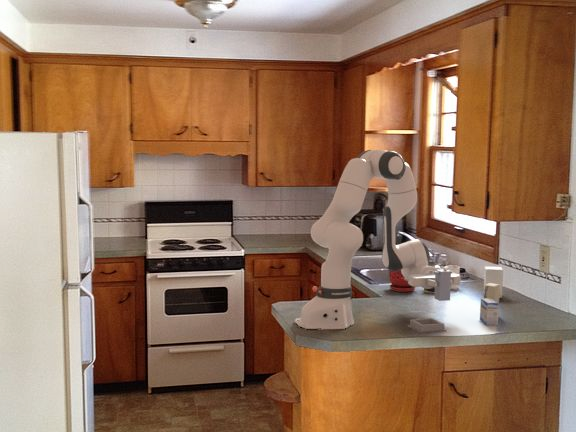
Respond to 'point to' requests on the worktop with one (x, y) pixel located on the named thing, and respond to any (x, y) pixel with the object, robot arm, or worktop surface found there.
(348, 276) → the robot arm
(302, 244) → the worktop surface
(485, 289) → the box
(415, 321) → the pocket plate
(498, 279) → the supplement box
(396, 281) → the plant pot
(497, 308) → the medicine box
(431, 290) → the medicine bottle
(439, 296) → the block
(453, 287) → the drinking glass
